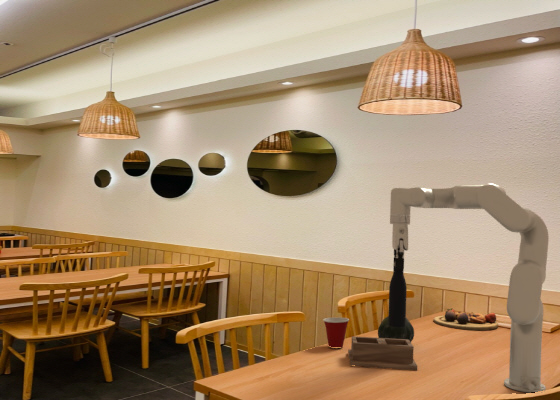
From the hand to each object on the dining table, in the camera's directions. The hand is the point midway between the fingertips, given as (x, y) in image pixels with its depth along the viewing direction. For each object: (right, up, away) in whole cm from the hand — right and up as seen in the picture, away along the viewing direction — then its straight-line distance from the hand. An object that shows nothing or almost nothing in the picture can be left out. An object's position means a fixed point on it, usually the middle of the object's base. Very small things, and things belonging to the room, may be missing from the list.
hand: (398, 268), depth 201 cm
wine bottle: (-1, -22, -1) cm, 22 cm away
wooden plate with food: (+52, -40, +77) cm, 101 cm away
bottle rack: (-7, -35, 0) cm, 36 cm away
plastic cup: (-22, -35, +18) cm, 46 cm away
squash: (+4, -37, +25) cm, 44 cm away
